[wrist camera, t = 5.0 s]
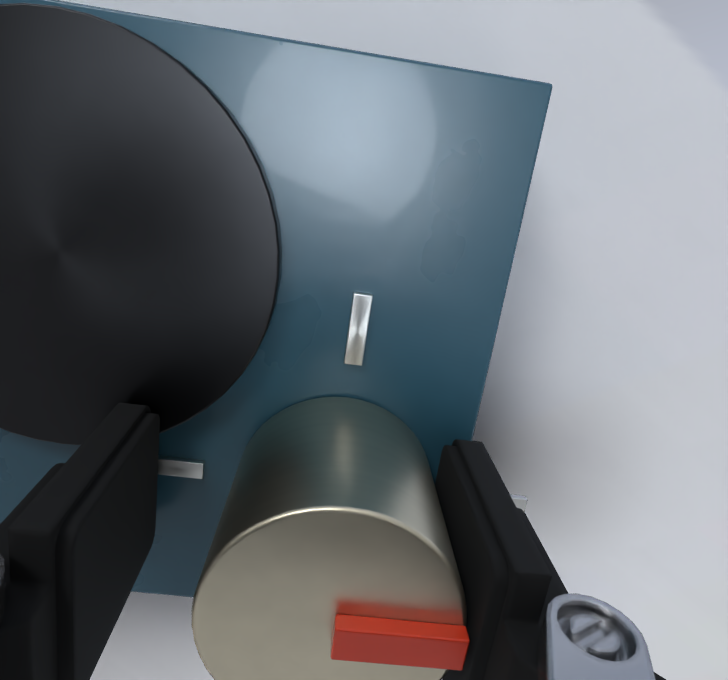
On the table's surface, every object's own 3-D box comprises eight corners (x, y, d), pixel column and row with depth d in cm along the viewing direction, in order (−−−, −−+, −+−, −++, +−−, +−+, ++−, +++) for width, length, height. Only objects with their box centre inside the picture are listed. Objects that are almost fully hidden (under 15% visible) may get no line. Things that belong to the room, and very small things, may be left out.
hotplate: (-128, 413, 11) (-145, 422, 11) (-184, -30, 9) (-209, -40, 8) (262, 456, 11) (259, 467, 11) (304, 51, 9) (302, 46, 9)
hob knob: (231, 552, 12) (177, 739, 8) (246, 383, 11) (191, 506, 7) (412, 571, 12) (443, 758, 9) (446, 408, 11) (500, 538, 7)
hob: (-37, 526, 15) (-117, 603, 12) (-79, 0, 11) (-206, -47, 8) (462, 576, 16) (485, 656, 13) (575, 109, 12) (637, 95, 9)
